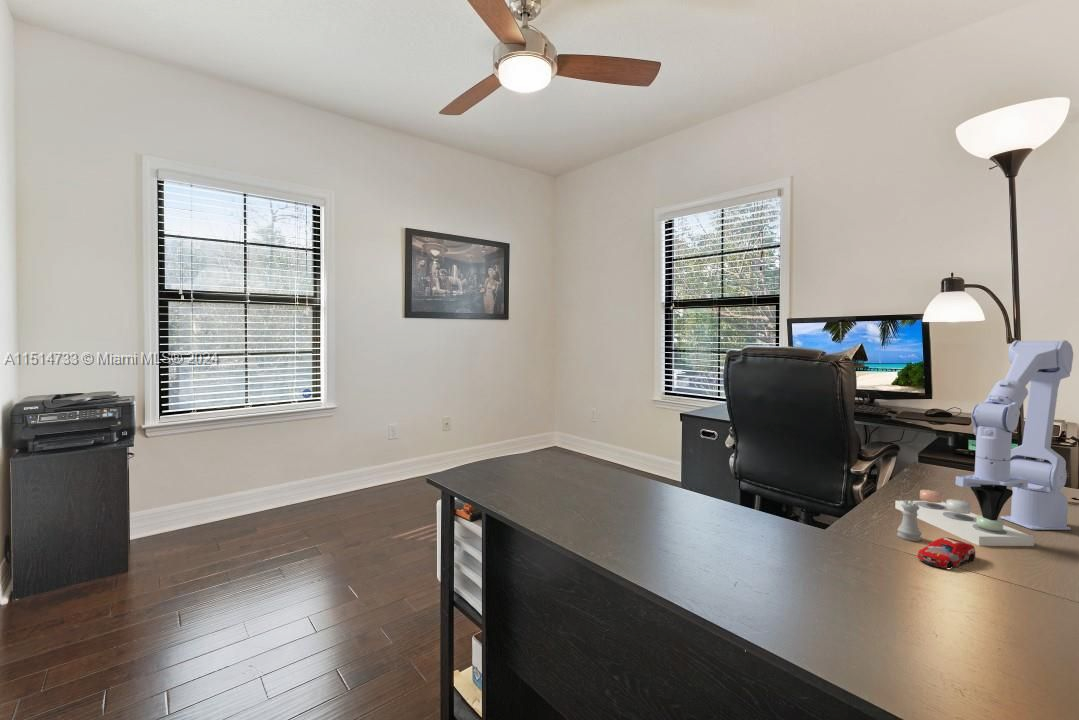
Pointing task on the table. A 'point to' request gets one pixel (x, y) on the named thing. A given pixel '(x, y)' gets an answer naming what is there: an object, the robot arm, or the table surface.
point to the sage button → (989, 523)
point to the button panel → (967, 526)
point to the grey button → (958, 506)
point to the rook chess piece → (909, 522)
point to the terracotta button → (931, 496)
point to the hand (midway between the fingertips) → (989, 519)
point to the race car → (947, 553)
